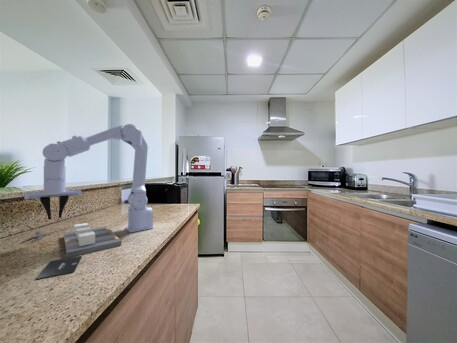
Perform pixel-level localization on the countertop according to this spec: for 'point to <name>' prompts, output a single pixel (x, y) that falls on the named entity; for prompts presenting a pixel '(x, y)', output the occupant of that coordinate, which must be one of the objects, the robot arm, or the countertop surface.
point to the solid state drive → (59, 267)
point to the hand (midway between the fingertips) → (54, 218)
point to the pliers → (39, 236)
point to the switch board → (102, 241)
